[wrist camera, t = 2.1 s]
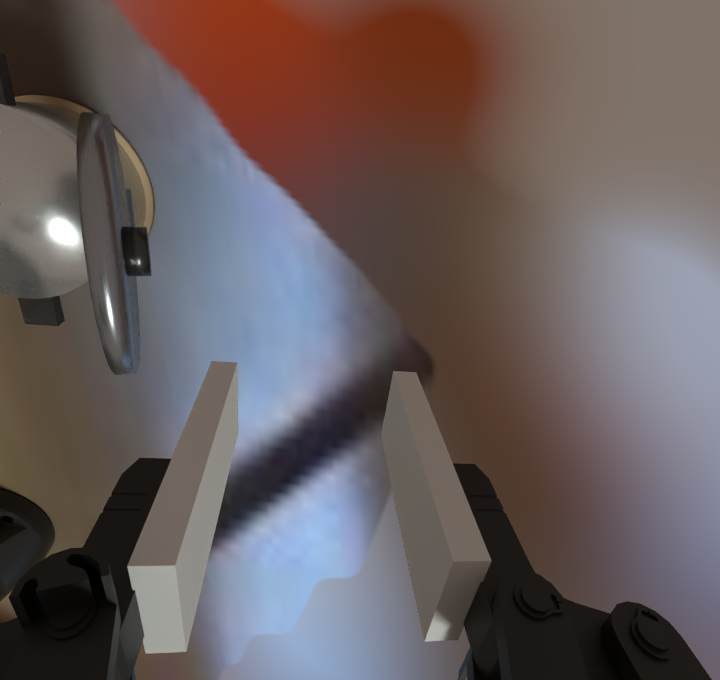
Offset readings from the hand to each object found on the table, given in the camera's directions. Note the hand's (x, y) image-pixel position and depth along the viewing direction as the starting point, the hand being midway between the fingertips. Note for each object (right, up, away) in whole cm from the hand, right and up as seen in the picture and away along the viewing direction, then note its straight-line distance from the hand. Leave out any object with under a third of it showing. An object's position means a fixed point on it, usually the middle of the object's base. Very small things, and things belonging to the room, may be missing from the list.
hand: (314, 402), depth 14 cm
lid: (-13, +7, +10) cm, 18 cm away
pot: (-23, +15, +22) cm, 35 cm away
